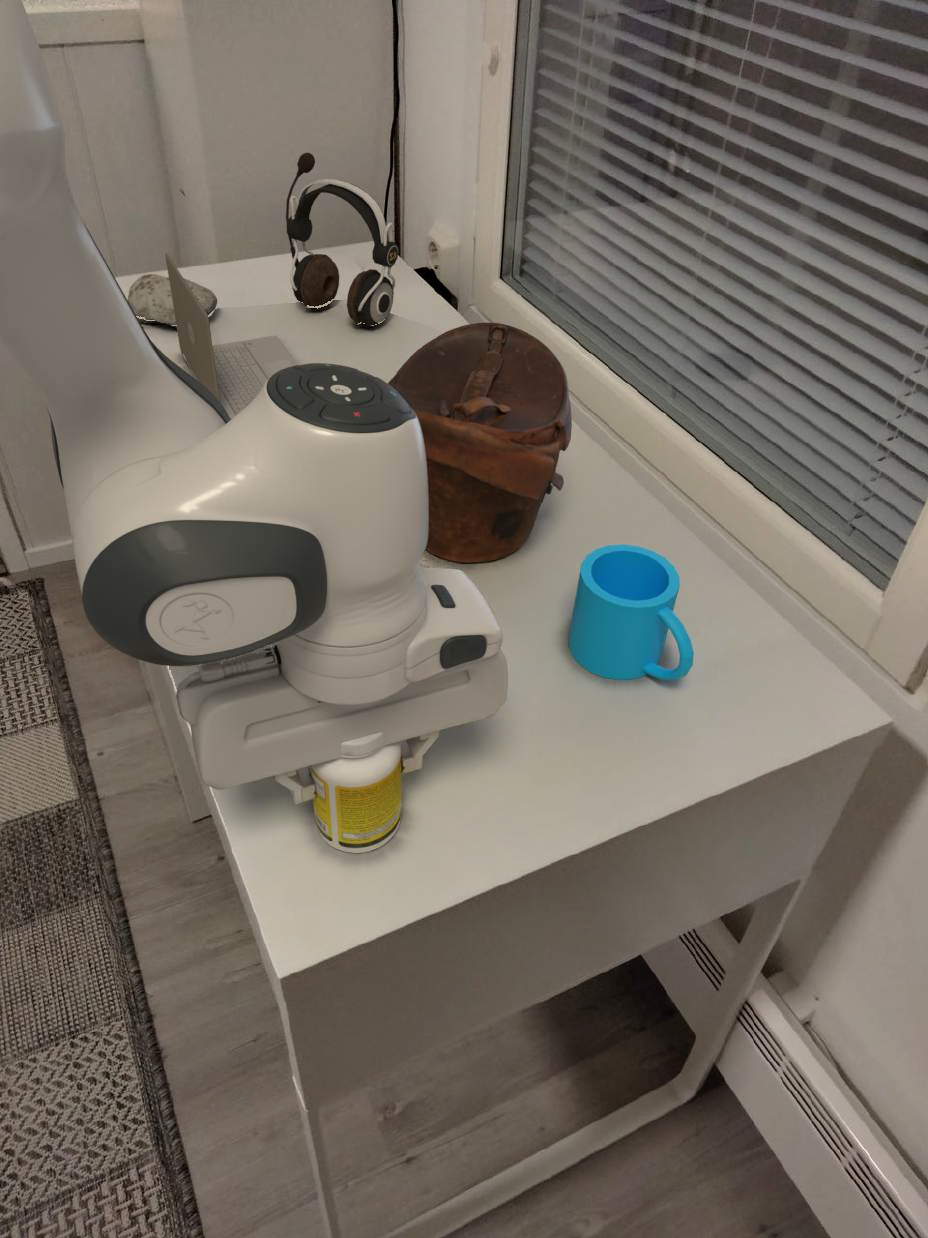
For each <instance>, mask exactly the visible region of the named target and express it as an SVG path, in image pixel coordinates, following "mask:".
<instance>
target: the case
mask: <svg viewBox="0 0 928 1238" xmlns="http://www.w3.org/2000/svg"><path fill="white" fill-rule="evenodd" d="M387 384H389V385H390V386H391V387H393V388H394V389H395V390H396V391H397V392H398V393H399V394H400V395H401V396H402V397H403V398H404V399H405V400H406V401H407V402H408V404H409V405H410V406H411V407H412V409H413V410H414V412H415V414H416V415H417V417H418V420H419V423H420V426H421V429H422V433H423V439H424V445H425V452H426V461H427V474H428V495H429V532H428V541H427V545H426V548H425V551H427V552H429V553H430V554H432V555H433V556H436V557H438V558H441V559H443V560H446V561H449V562H453V563H454V562H455V563H461V564H463V563H465V564H472V563H473V564H474V563H484V562H491V561H496V560H500V559H502V558H505V557H507V556H509V555H510V554H512V553H514V552H516V551H517V550H518V549H520V548H521V546H523V545H524V544H525V543H526V541H527V540H528V538H529V537H530V535H531V533H532V531H533V528H534V525H535V522H536V520H537V517H538V515H539V512H540V509H541V506H542V504H543V502H544V500H545V497H546V495H548V496H550V495H551V493H552V490H553V487H555V488H556V489H557V490H558V491H559V492H560V491H562V489H563V488H564V483H565V481H564V476H563V475H562V474H560V473H558V472H556V471H557V466H558V462H559V457H560V452H561V451H563V452H565V451H567V449H568V448H569V445H570V443H571V441H572V440H571V439H572V430H573V429H572V428H573V422H572V420H573V418H572V416H573V415H572V406H571V405H572V404H571V399H570V393H569V392H570V391H569V382H568V377H567V373H566V370H565V368H564V366H563V365H562V363H561V361H560V360H559V358H558V357H557V355H555V353H554V352H553V351H552V350H551V349H550V348H549V347H548V346H547V345H546V344H545V343H543V341H541V340H540V339H538V338H537V337H535V336H534V335H532V334H530V333H529V332H527V331H525V330H523V329H521V328H518V327H515V326H512V325H508V324H505V323H500V322H475V323H469V324H464V325H461V326H458V327H455V328H452V329H449V330H447V331H445V332H442V334H441V333H440V334H439V335H437V336H436V337H435V338H432V339H431V340H430V341H428V342H426V343H425V344H424V345H422V346H421V347H419V348H418V349H417V350H416V351H415V352H414V353H413V354H411V356H410V357H409V358H408V359H407V360H406V361H405V362H404V363H403V364H402V366H401V367H400V368H399V369H398V370H397V372H396V373H395V374H394V376H393V377H392V378H391V379H390V380H389V381H388V382H387Z"/></svg>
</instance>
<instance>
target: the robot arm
mask: <svg viewBox="0 0 928 1238" xmlns="http://www.w3.org/2000/svg"><path fill="white" fill-rule="evenodd" d="M65 144H66V134H65V126H64V123H63V120H62V115H61V112H60V109H59V104H58V101H57V98H56V95H55V91H54V88H53V84H52V81H51V78H50V74H49V72H48V69H47V66H46V63H45V60H44V57H43V54H42V50H41V48H40V45H39V42H38V39H37V38H36V35H35V31H34V29H33V26H32V23H31V21H30V19H29V16H28V13H27V11H26V8H25V5H24V3H23V1H22V0H0V342H1V343H2V346H3V347H4V348H5V349H6V351H7V352H8V353H9V355H10V357H12V359H13V360H14V362H15V363H16V364H17V366H18V367H19V368H20V370H21V371H22V372H23V374H24V375H25V377H26V379H28V381H29V383H31V385H32V386H33V388H34V389H35V390H36V392H37V394H38V395H39V396H40V398H41V399H42V401H43V403H44V404H45V407H46V409H47V412H48V415H49V420H50V421H49V422H50V430H51V431H50V432H51V443H52V448H53V455H54V460H55V464H56V468H57V472H58V477H59V481H60V484H61V487H62V489H63V492H64V498H65V504H66V505H65V506H66V510H67V511H66V512H67V517H68V522H69V528H70V534H71V535H70V536H71V541H72V549H73V555H74V562H75V568H76V573H77V579H78V584H79V588H80V593H81V601H82V607H83V611H84V613H85V617H86V619H87V620H88V622H89V624H90V626H91V627H92V629H93V630H94V631H95V633H96V634H97V635H98V636H99V637H100V638H101V639H102V640H103V641H105V642H106V644H108V645H109V646H111V647H112V648H114V649H115V650H117V651H119V652H121V653H122V654H124V655H127V656H129V657H132V658H134V659H136V660H138V661H142V662H146V663H149V664H153V665H159V666H165V667H192V666H193V667H194V666H198V668H197V669H198V670H197V671H195V672H193V673H190V674H189V675H188V676H186V677H185V678H184V679H183V680H182V681H180V682H179V684H178V685H177V688H176V692H175V693H176V694H175V697H176V702H177V708H178V712H179V714H180V716H181V717H182V719H183V720H184V721H185V722H186V723H187V724H189V725H190V731H191V733H190V734H191V742H192V747H193V751H194V757H195V760H196V766H197V769H198V773H199V776H200V779H201V782H202V783H203V784H204V785H205V786H208V787H209V788H212V789H214V790H217V791H222V790H227V789H230V788H231V789H232V788H234V787H238V786H242V785H245V784H248V783H252V782H256V781H260V780H263V779H267V778H270V777H274V780H275V782H277V783H279V784H280V785H281V786H283V787H285V788H286V789H288V790H289V791H290V795H291V797H292V801H293V803H294V805H298V804H301V803H304V802H307V801H311V800H313V799H315V798H316V793H315V791H316V788H315V783H314V780H313V778H312V777H311V773H310V767H309V766H311V765H315V764H318V763H322V762H325V761H329V760H333V759H336V758H340V756H341V744H342V743H344V742H347V741H351V740H355V739H358V738H362V737H365V736H369V735H373V734H376V733H380V732H383V739H384V743H383V744H384V745H388V744H391V743H395V742H399V741H400V744H401V775H403V774H407V773H411V772H415V771H419V770H421V769H423V762H424V761H423V759H424V755H425V754H426V753H427V752H428V750H429V749H430V748H431V747H432V745H433V744H434V743H435V742H436V740H437V739H438V738H439V737H440V731H442V730H445V729H450V728H453V727H456V726H460V725H465V724H468V723H471V722H472V723H473V722H475V721H480V720H483V719H487V718H491V717H492V716H494V715H496V714H497V713H498V712H499V711H500V710H501V709H502V707H504V705H505V704H506V702H507V699H508V690H509V671H508V670H509V669H508V662H507V658H506V656H505V654H504V652H503V650H502V649H501V647H502V644H503V638H504V637H503V636H504V635H503V631H502V630H501V629H502V628H501V627H500V624H499V622H498V619H497V618H496V616H495V613H494V612H493V610H492V608H491V607H490V605H489V603H488V602H487V600H486V598H485V597H484V596H483V594H482V593H481V591H480V590H479V588H478V587H477V585H476V584H475V583H474V581H472V579H471V578H470V577H469V576H468V575H467V574H466V572H464V571H463V570H461V569H457V568H445V567H427V566H422V564H421V562H422V559H423V556H424V554H425V551H426V549H425V548H426V545H427V541H428V532H429V495H428V474H427V461H426V452H425V445H424V439H423V433H422V429H421V426H420V423H419V420H418V417H417V415H416V414H415V412H414V410H413V409H412V407H411V406H410V405H409V404H408V402H407V401H406V400H405V399H404V398H403V397H402V396H401V395H400V394H399V393H398V392H397V391H396V390H395V389H394V388H393V387H391V386H390V385H389V384H388V382H386V381H384V379H381V378H380V377H377V376H375V375H372V374H370V373H367V372H365V371H361V370H359V369H358V368H355V367H351V366H347V365H343V364H336V363H327V362H325V363H324V362H313V363H312V362H311V363H303V364H298V365H296V366H291V367H288V368H285V369H282V370H280V371H278V372H276V373H274V374H273V375H272V376H271V377H270V378H269V379H268V380H267V381H266V383H265V384H264V386H263V387H262V389H261V390H260V392H259V393H258V395H257V396H256V397H255V398H254V400H253V401H252V402H251V403H250V404H249V405H248V406H246V407H245V408H244V409H243V410H242V411H241V412H239V413H238V414H237V415H236V416H235V417H234V418H232V419H230V417H229V415H228V413H227V412H226V410H225V408H224V407H223V405H222V404H221V403H220V402H219V400H218V399H217V398H216V397H215V396H214V395H213V394H212V393H211V392H210V391H209V390H208V389H207V388H206V387H205V386H204V385H202V384H201V383H200V382H199V381H197V380H196V379H195V377H194V376H193V375H191V374H190V373H189V372H187V371H186V370H184V369H183V368H182V367H180V366H179V365H178V364H177V363H175V362H174V361H173V360H172V359H170V358H169V357H168V356H166V355H167V354H166V355H165V353H164V352H163V351H161V349H160V348H158V347H157V346H156V344H155V343H154V342H153V341H152V340H151V338H150V337H149V335H148V334H147V332H146V330H145V329H144V327H143V325H142V323H140V322H139V320H138V318H137V317H136V315H135V313H134V311H133V309H132V308H131V306H130V304H129V302H128V298H127V297H126V296H125V292H123V290H122V288H121V286H120V285H119V282H118V281H117V279H116V277H115V275H114V274H113V272H112V270H111V268H110V266H109V265H108V263H107V261H106V259H105V257H104V255H103V254H102V253H101V252H102V251H100V248H99V247H98V245H97V243H96V242H95V240H94V238H93V236H92V235H91V232H90V231H89V229H88V227H87V225H86V223H85V221H84V220H83V218H82V216H81V213H80V210H79V208H78V205H77V204H76V201H75V200H76V199H75V196H74V195H73V192H72V188H71V184H70V179H69V176H68V171H67V164H66V151H65V150H66V149H65V148H66V146H65ZM273 644H275V645H274V646H272V647H267V646H269V645H273ZM265 647H267V648H265ZM384 745H383V746H384Z"/></svg>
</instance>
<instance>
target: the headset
mask: <svg viewBox="0 0 928 1238" xmlns="http://www.w3.org/2000/svg"><path fill="white" fill-rule="evenodd" d="M315 164H316V159H315V156H314V155H313V154H312V153H311V152H304V153H302V154H300V156H299V158H298V160H297V163H296V165H297V172H296V175H295V177H294V179H293V181H292V184H291V186H290V188H289V192H288V194H287V198H286V203H285V204H286V205H285V206H286V208H285V221H286V222H285V223H286V234H287V237H288V241H289V246H290V253H291V258H292V262H291V265H290V270H289V278H290V281H289V282H290V284H291V288H292V291H293V296H294V298H295V299H296V301H297V300H298V301H297V302H299V301H300V302H303V303H304V304H303V305H304V306H305V307H306V306H307V305H309V306H314V307H315V306H319V305H323V304H325V303H327V302H328V301H331V300H332V299H334V300H335V298H336V296H337V295H338V291H339V286H340V272H339V268H338V266H337V264H336V262H334V261H333V260H332V258H331V257H330V256H328V255H327V254H322V253H315V252H313V251H311V250H309V249H308V248H307V247H306V242H307V241H309V240H310V238H311V236H312V234H313V222H312V220H311V218H310V215H311V211H312V209H313V206H314V203H315V201H316V200H317V199H318V197H319V195H320V194H321V193H323V194H330V195H332V196H333V195H334V196H336V197H337V198H340V199H342V200H344V201H345V202H346V203H348V204H349V205H350V206H351V207H352V208H353V209H355V211H356V212H357V213H358V214H359V215H360V216H361V218H362V220H363V221H364V222H365V224H366V225H367V228H368V229H369V232H370V234H371V238H372V241H373V244H374V245H373V249H372V261H373V263H374V264H376V265H378V266H379V265H380V266H382V267H381V272H379V270H377V269H372V268H370V269H368V270H363V271H360V272H359V273H358V274H357V275H356V276H355V277H354V279H353V280H352V282H351V284H350V286H349V288H348V293H347V299H346V308H347V314H348V315H349V317H350V319H351V320H352V321H353V322H354V324H355V325H357V324H358V323H360V322H362V323H361V324H359V325H357V326H358V327H360V328H367V327H368V326H369V327H373V328H376V327H379V326H380V325H382V324H383V323H384V322H386V320H387V319H388V317H389V315H390V314H391V311H392V307H393V304H394V294H395V292H394V291H395V287H396V277H394V275H392V274H391V272H392V267H393V266H395V265H396V262H397V260H398V258H399V246H398V244H397V243H396V242H395V241H393V228H394V224H393V222H388V223H387V224H386V221H385V217H384V215H383V213H382V210H381V208H380V206H379V204H378V203H377V202H376V200H375V199H373V197H372V196H371V195H370V194H368V193H367V192H366V191H365V190H363V189H362V188H360V187H359V186H357V185H355V184H353V183H349V182H346V181H342V180H338V179H332V178H324V179H318V180H315V181H312V182H310V183H308V184H306V185H305V186H304V187H303V188H302V189H301V190H300V193H299V195H298V197H297V196H295V195H293V194H292V193H293V191H294V187H295V185H296V184H297V181H298V179H299V177H301V176H302V175H303V174H308V173H310V172H311V171H312V170H313V169H314V168H315V166H316V165H315ZM320 184H325V185H323V186H321V187H318V188H316V189H313V190H311V191H309V192H308V190H310V188H311V187H312V186H314V185H320ZM295 205H296V209H295ZM290 208H291V216H290V217H289V215H290ZM297 241H299V242H301V246H302V249H303V251H304V252H305V253H307V254H308V255H305V256H303V258H302V259H301V260H300V261H299V258H298V256H299V252H300V251H299V246H298V242H297ZM386 268H387V272H386V273H387V276H385V271H386ZM390 279H391V280H390ZM334 300H333V301H332V302H331V303H330V304H328V305H327V306H324V307H321V308H318V309H317V308H307V309H308V310H309V311H310V312H318V311H320V310H325V309H327V308H328V307H330V306H331V304H332V303H333V302H334ZM300 302H299V303H300ZM384 319H385V320H384ZM383 320H384V321H383ZM381 321H383V322H382V323H380V324H378V322H381ZM363 323H365V324H363ZM375 324H377V325H375ZM370 325H374V326H370Z"/></svg>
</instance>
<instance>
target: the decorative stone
mask: <svg viewBox="0 0 928 1238" xmlns="http://www.w3.org/2000/svg"><path fill="white" fill-rule="evenodd" d="M183 278H184V277H183ZM184 280H185V281H186V283H187V284H188V286H189V287H190V289H191V290H192V292H193V293H194V295H195V297H196V298H197V300H198V301H199V303H200V304H201V306H202V307H203V309H204V310H205V312H206V313H207V315H209V314H210V313H211V312H212V311H213V310H214V309H215V308H217V305H218V298H217V296H216V295H215V293H214V292H213V290H211V289H209V288H207V287H205V286H202V285H201V284H200V285H199V283H196V282H194V281H192V280H189V279H186V278H184ZM127 300H128V302H129V304H130V306H131V308H132V309H133V311H134V313H135V315H136V316H139V317H140V316H141V317H145V319H146V320H155V321H146V320H144V319H139V318H138V320H139V322H140V324H153V323H154V324H164V323H166V324H165V325H168V324H169V325H168V326H170V327H172V328H177V326H171V325H176V319H175V313H174V307H173V300H172V294H171V288H170V282H169V276H164V275H161V274H157V273H148V274H143V275H141V276H139V277H138V278H137V279H136V280H135V281H134V282H133V283H132V284H131V286H130V287H129V290H128V295H127ZM215 310H216V309H215ZM212 316H213V315H212ZM212 316H210V317H209V320H210V319H211V318H212Z"/></svg>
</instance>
